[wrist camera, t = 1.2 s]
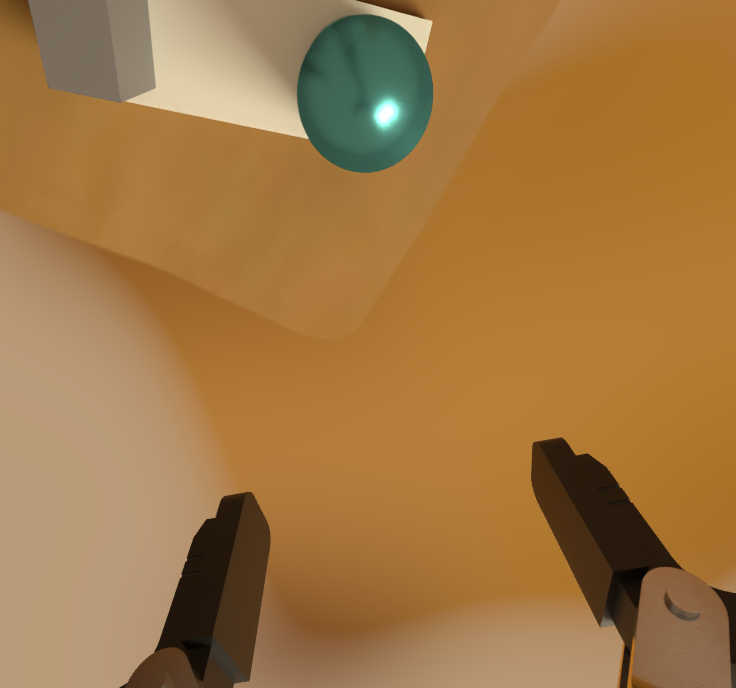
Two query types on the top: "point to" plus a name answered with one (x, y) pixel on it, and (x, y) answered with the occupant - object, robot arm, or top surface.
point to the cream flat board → (194, 52)
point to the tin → (364, 93)
